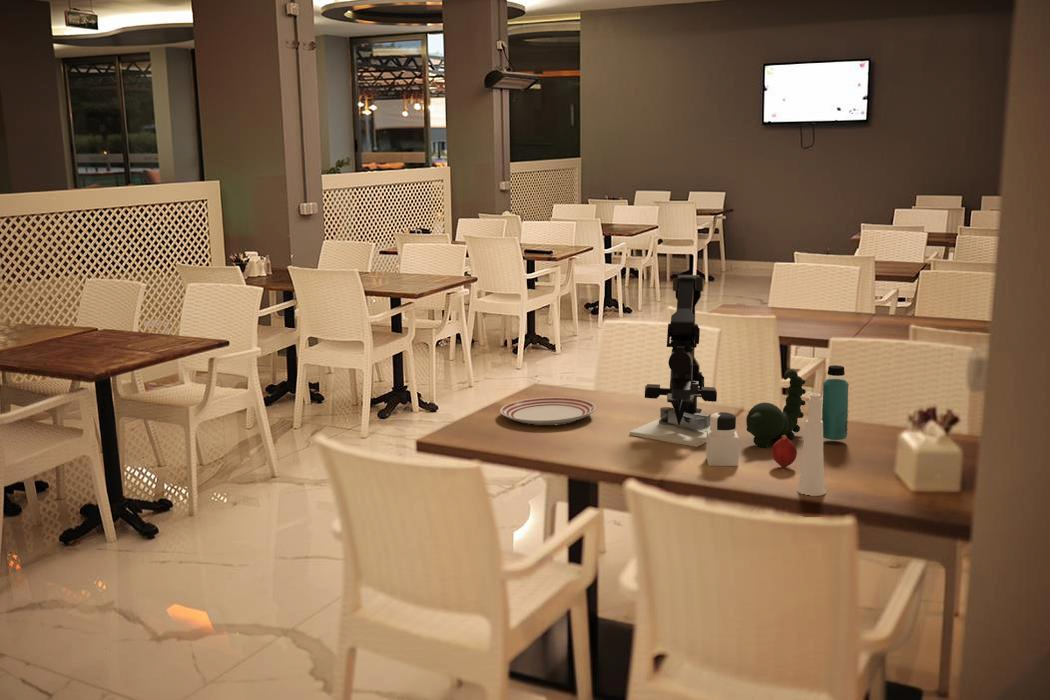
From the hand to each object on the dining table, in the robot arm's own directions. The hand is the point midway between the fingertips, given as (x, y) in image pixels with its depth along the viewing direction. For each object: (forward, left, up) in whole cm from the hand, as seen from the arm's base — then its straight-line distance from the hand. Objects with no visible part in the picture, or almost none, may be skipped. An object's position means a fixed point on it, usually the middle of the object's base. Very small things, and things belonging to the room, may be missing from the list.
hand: (678, 424), depth 269 cm
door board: (-1, -1, -3) cm, 3 cm away
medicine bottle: (+16, +20, -3) cm, 26 cm away
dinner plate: (+5, -40, -3) cm, 40 cm away
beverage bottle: (-15, +36, -3) cm, 40 cm away
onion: (+12, +34, -3) cm, 36 cm away
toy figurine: (-8, +23, -3) cm, 25 cm away
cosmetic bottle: (+25, +46, -3) cm, 52 cm away
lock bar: (-4, -1, -1) cm, 4 cm away
